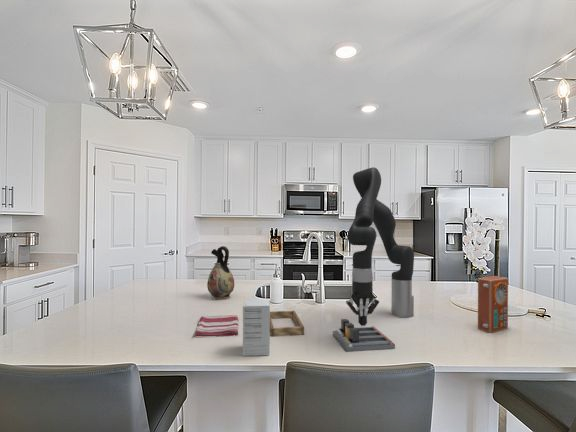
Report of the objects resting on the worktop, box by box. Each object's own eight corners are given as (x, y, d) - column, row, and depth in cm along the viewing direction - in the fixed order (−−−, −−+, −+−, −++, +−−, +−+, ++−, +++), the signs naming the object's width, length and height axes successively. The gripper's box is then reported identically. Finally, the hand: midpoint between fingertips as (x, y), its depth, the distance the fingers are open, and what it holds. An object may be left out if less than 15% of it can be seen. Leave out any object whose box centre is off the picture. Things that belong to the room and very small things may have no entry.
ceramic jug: (201, 298, 185) (201, 246, 185) (221, 293, 198) (221, 244, 198) (222, 303, 175) (222, 247, 175) (241, 297, 188) (242, 245, 188)
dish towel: (193, 339, 125) (193, 332, 125) (200, 320, 149) (200, 314, 149) (238, 337, 128) (238, 330, 128) (238, 318, 151) (238, 312, 151)
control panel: (511, 328, 138) (490, 334, 131) (494, 323, 144) (473, 328, 137) (511, 277, 138) (490, 280, 131) (494, 275, 144) (473, 277, 137)
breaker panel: (375, 332, 132) (376, 316, 132) (395, 348, 116) (395, 330, 116) (333, 334, 129) (333, 318, 129) (346, 351, 113) (346, 332, 113)
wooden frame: (294, 317, 152) (294, 310, 152) (304, 334, 129) (304, 327, 129) (266, 318, 150) (266, 311, 150) (271, 336, 127) (271, 328, 127)
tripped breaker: (351, 336, 123) (351, 322, 123) (354, 338, 121) (354, 325, 121) (345, 336, 123) (345, 322, 123) (347, 339, 120) (347, 325, 120)
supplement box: (269, 355, 109) (270, 305, 109) (242, 356, 109) (242, 306, 109) (269, 344, 119) (269, 298, 119) (243, 345, 118) (244, 299, 118)
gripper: (374, 276, 128) (374, 321, 128) (342, 278, 126) (342, 323, 126) (383, 280, 120) (383, 327, 120) (348, 282, 118) (349, 329, 118)
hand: (362, 325), depth 123 cm, fingers closed
